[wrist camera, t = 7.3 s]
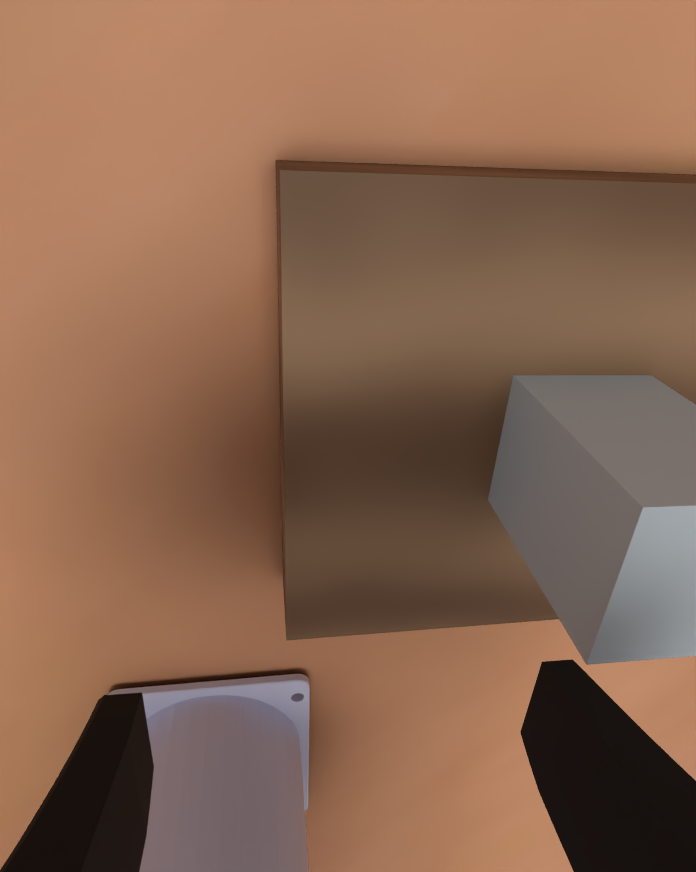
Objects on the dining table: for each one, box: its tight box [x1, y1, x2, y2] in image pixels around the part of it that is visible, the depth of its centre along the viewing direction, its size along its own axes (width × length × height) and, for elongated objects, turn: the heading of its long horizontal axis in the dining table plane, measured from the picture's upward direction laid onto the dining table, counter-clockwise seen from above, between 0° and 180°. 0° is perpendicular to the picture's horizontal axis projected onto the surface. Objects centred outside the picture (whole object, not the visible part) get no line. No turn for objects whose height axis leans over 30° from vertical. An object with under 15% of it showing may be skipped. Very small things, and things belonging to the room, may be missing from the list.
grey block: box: [488, 375, 696, 664], centre depth 14 cm, size 4×4×6 cm
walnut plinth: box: [276, 160, 696, 640], centre depth 18 cm, size 14×16×3 cm
